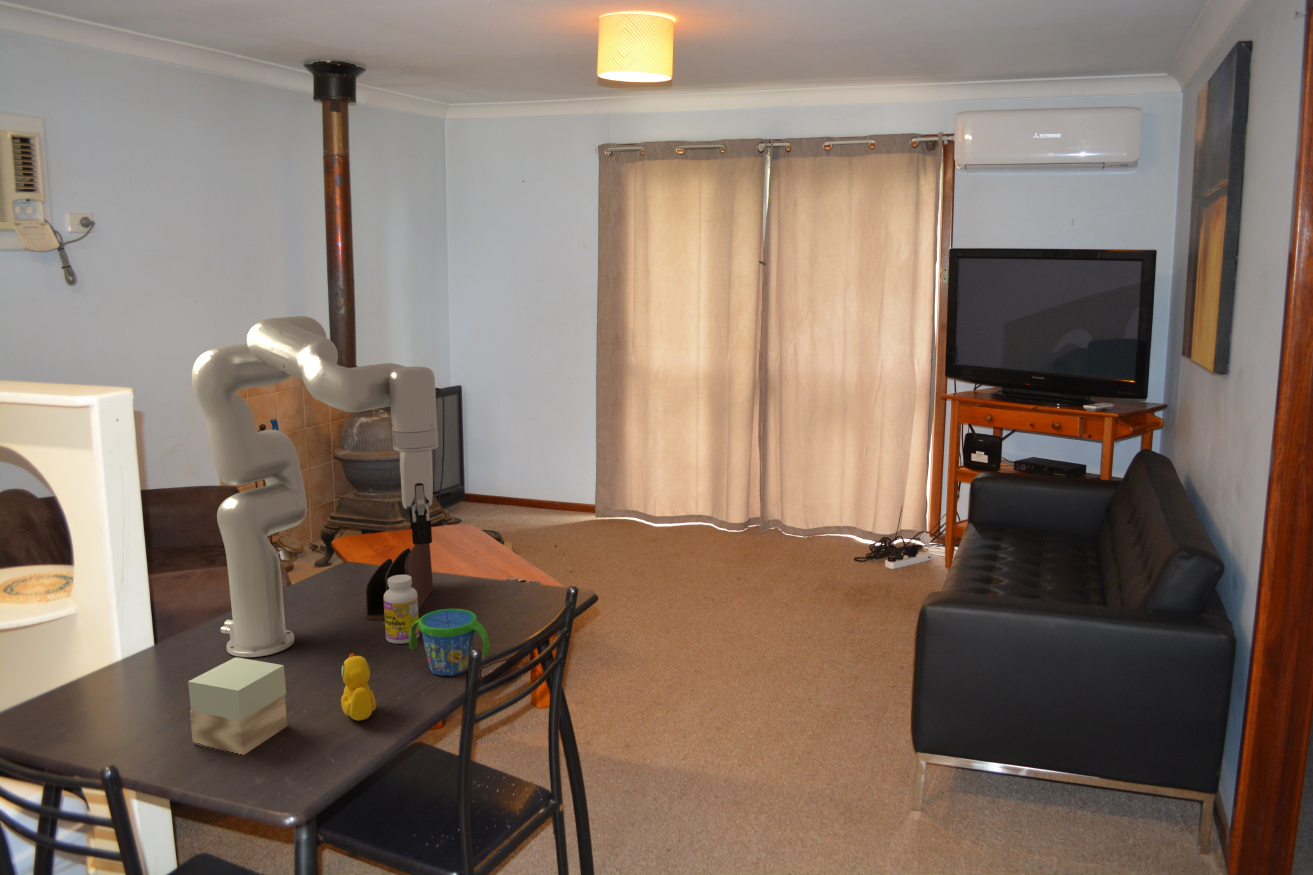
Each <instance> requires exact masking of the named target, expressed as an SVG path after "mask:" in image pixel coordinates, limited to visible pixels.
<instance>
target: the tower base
mask: <svg viewBox="0 0 1313 875" xmlns="http://www.w3.org/2000/svg"><path fill="white" fill-rule="evenodd" d="M285 696H286V694H285V695H283V696H282V697H280V698H278V699H277V700H275V701H273V702H272V703H270V704H268V705H267V706H265V707H263V708H262V709H260V710H258V711H257V712H255V713H253V714H252V715H250V716H248V717H247V718H245V719H243V720H241V721H239V720H234V719H229V718H224V717H219V716H214V715H209V714H204V713H199V712H193V711H191V710H189V718H190V719H189V720H190V727H191V738H192V743H193V742H195V743H200V744H203V745H206V746H210V747H214V748H218V749H222V750H226V751H229V752H228V753H231V752H234V753H233V754H235V753H238V754H237V755H240V754H242V756H244V755H245V754H248V753H249V752H250V751H253V749H255V748H257V747H258V746H259V745H261V744H263V743H265V741H267V740H268V739H270V738H272V737H273V736H275V735H276V734H278V733H279V732H281V731H282V730H284V729H286V728H287V727H288V717H287V707H286V697H285ZM226 751H225V752H226Z"/></svg>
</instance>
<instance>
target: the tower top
mask: <svg viewBox="0 0 1313 875" xmlns="http://www.w3.org/2000/svg"><path fill="white" fill-rule="evenodd" d="M187 682H188V683H187V684H188V685H187V686H188V692H189V693H188V695H189V702H190V704H189V705H190V711H193V712H199V713H204V714H209V715H214V716H219V717H224V718H229V719H234V720H239V721H241V720H243V719H245V718H247V717H248V716H250V715H252V714H253V713H255V712H257V711H258V710H260V709H262V708H263V707H265V706H267V705H268V704H270V703H272V702H273V701H275V700H277V699H278V698H280V697H282V696H283V695H285V696H286V695H287V691H286V690H287V687H286V677H285V665H283V664H277V663H272V662H266V661H260V660H254V659H249V658H244V657H238V656H234V657H233V658H231V659H230V660H227V661H226V662H224V663H221V664H219V665H217V666H215V667H214V668H211V669H210V670H208V671H206V672H204V673H202V674H199V675H198V676H196V677H194V678H192V679H191V680H188V681H187Z"/></svg>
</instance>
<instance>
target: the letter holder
mask: <svg viewBox="0 0 1313 875" xmlns="http://www.w3.org/2000/svg"><path fill="white" fill-rule="evenodd" d="M430 544H431V543H429V544H418V545H414V544H413V545H414V546H413V547H412V548H410V547H408V548H406V549H403V551H402V552H400V553H399V554H398V555H397V556H396V558H395V559H394V560H393V559H392V558H387V559H386V560H384V561H383V562H382V563H381V564H380V565H379V566H378V567H377V569H376V570H375V571H374V572H373V573H372V575H371V576H370V578H369V580H368V581H367V583H366V586H365V614H366V617H365V618H366V621H385V614H384V594H385V592H386V591H387V590H389V586H388V578H390V577H392V576H395V575H409V576H411V578H412V584H411V587H412V588H414V589H415V590H416V591H417V596H418V611H419V610H420V608H421V607H422V605H423V604H424V603H425V601H426V599H427V598H428V597H429V595H430V594H431V592H432V591H433V589H434V584H433V570H432V569H433V568H432V557H431V554H432V553H431V547H430Z"/></svg>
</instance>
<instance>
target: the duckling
mask: <svg viewBox="0 0 1313 875" xmlns="http://www.w3.org/2000/svg"><path fill="white" fill-rule="evenodd" d="M370 668H371V667H370V664H369V662H368V660H367V659H366V658H365V657H363V656H361V655H355V653H350V654H349V656H348V658H346V659H345V660H344V662H343V663H342V666H341V678H342V681H343V683H344V684H345V687H344V689H343V694H342V695H341V698H340V704H341V710H342V711H343V713H344V714H345V716H349V717H350V718H351V719H353V721H354V720H355V721H363V720H367V719H368V718H369V717H370V716H371V715H372V713H373V711H375V710H376V708H377V702H376V698H375V695H374V691H373V690H371V688H370V686H369V684H368V682H369V680H370V677H371V669H370Z"/></svg>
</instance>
